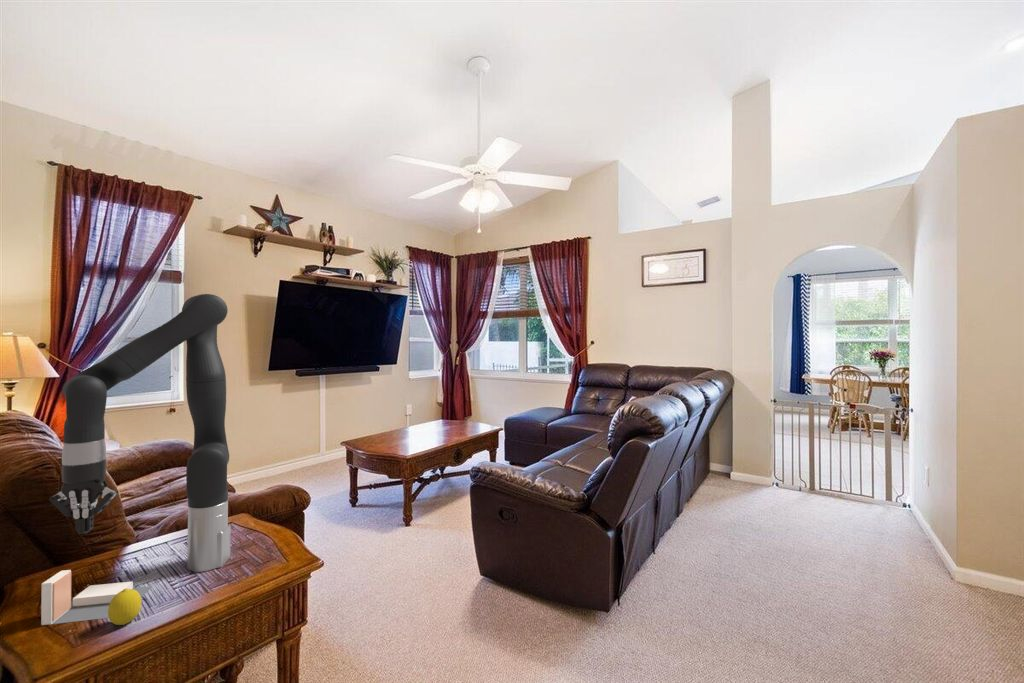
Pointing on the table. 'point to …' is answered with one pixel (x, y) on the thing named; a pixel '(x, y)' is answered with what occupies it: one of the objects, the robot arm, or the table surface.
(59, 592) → the pink flat piece
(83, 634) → the table surface
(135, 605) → the lemon
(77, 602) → the white flat block
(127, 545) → the table surface
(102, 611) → the slate mat
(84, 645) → the table surface
